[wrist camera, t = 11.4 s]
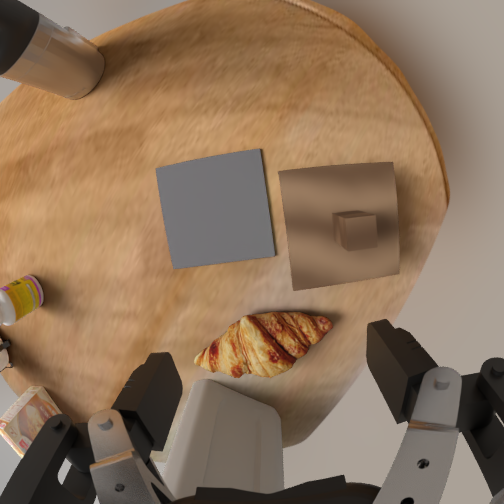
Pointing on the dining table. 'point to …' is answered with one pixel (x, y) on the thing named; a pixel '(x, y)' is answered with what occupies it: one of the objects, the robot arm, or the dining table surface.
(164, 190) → the plate
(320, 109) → the dining table surface
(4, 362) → the coffee press
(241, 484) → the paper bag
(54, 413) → the coffeecake box
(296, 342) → the croissant
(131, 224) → the dining table surface
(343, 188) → the lid
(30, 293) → the supplement bottle
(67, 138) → the dining table surface
